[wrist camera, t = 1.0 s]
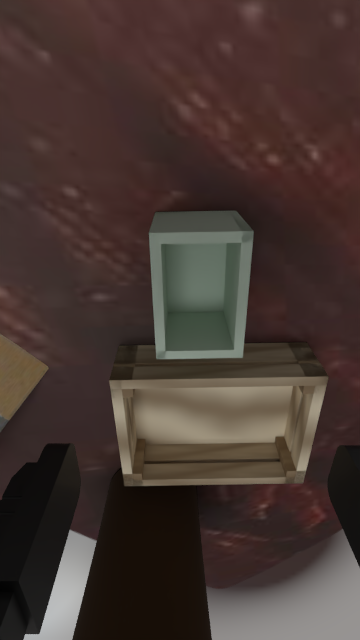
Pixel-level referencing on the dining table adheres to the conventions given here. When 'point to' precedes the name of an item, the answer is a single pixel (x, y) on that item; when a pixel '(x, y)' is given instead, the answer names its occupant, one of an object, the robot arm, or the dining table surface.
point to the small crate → (200, 283)
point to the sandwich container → (16, 377)
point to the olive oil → (146, 568)
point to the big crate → (217, 415)
